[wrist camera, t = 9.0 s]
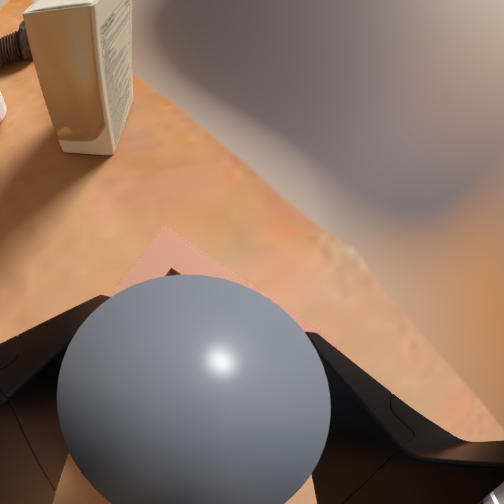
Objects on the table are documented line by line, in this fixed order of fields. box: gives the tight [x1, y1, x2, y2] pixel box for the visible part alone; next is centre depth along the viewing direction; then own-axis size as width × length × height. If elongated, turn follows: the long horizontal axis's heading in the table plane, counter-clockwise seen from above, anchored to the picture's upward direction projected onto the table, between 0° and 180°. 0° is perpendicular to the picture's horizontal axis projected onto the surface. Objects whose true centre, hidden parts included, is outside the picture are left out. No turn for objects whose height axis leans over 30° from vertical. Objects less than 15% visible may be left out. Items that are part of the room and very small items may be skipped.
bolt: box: [0, 21, 33, 64], centre depth 20 cm, size 6×5×15 cm
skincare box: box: [23, 0, 133, 155], centre depth 16 cm, size 6×4×12 cm
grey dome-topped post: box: [57, 274, 331, 504], centre depth 10 cm, size 5×5×12 cm
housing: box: [109, 226, 337, 347], centre depth 15 cm, size 10×10×4 cm
